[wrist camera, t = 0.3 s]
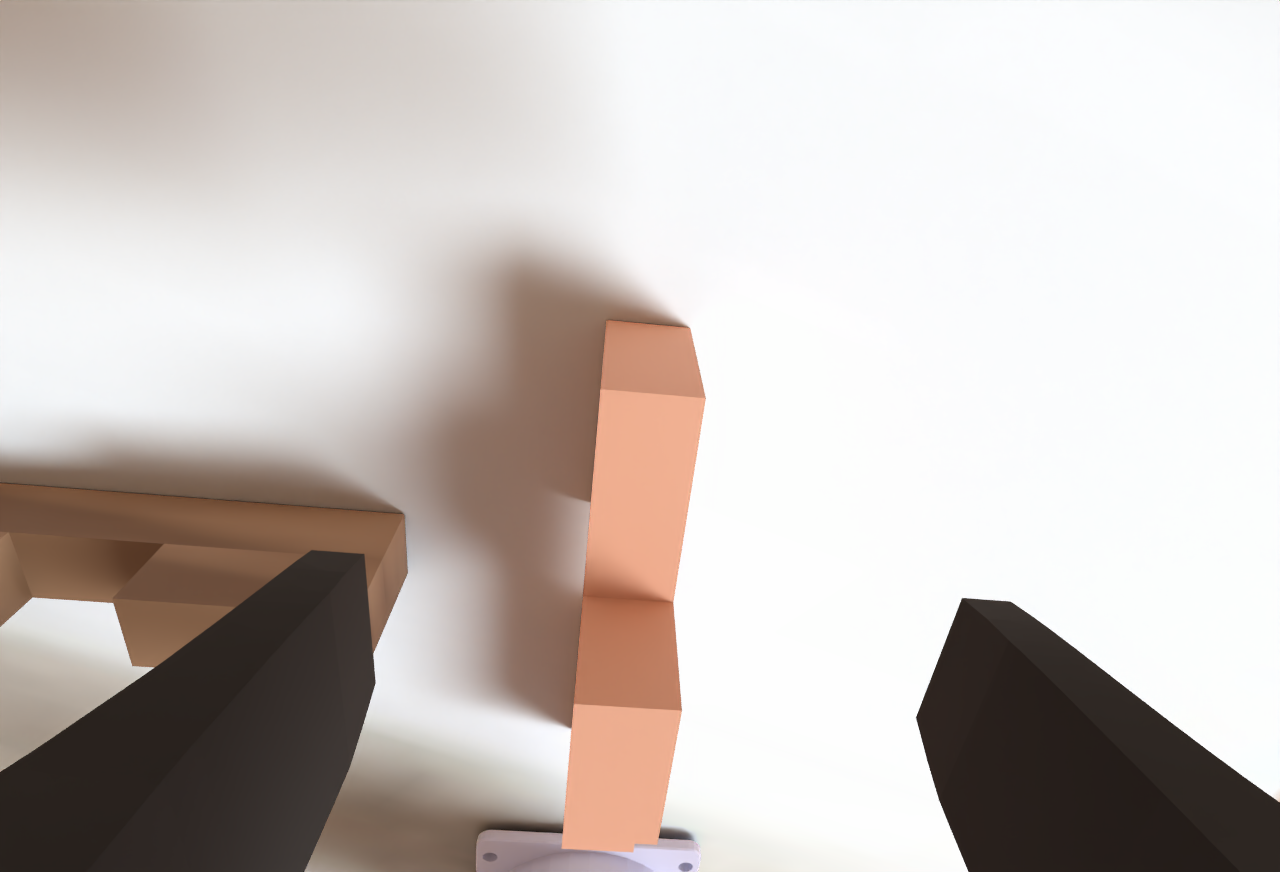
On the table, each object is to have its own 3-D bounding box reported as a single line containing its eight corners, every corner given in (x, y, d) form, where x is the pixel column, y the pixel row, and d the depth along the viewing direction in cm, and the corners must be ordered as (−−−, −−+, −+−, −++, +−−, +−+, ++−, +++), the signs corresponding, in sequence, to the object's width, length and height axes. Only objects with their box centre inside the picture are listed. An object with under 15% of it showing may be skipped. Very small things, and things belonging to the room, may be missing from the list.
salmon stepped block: (632, 733, 24) (634, 972, 18) (571, 729, 24) (551, 969, 17) (689, 327, 17) (724, 480, 11) (606, 319, 17) (593, 469, 11)
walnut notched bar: (407, 572, 21) (361, 680, 17) (-114, 534, 20) (-276, 640, 16) (404, 514, 20) (355, 615, 16) (-143, 471, 19) (-322, 568, 15)
